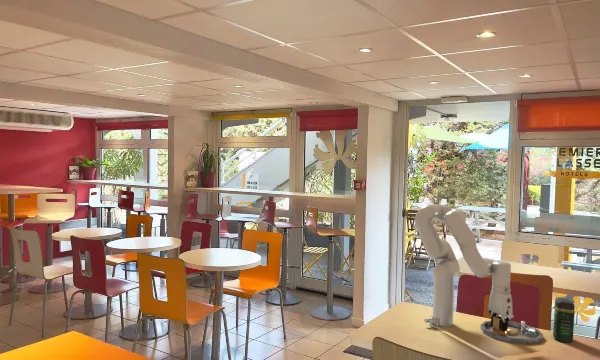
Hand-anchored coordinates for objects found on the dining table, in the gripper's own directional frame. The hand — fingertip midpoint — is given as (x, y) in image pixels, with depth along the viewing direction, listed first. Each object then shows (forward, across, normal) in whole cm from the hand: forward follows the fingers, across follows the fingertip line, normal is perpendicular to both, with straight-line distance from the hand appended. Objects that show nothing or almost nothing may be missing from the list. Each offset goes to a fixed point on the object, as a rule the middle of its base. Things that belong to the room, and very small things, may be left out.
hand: (499, 327), depth 211 cm
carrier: (+5, 0, -7) cm, 9 cm away
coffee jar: (+5, -9, -29) cm, 31 cm away
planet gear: (+3, 0, 0) cm, 3 cm away
